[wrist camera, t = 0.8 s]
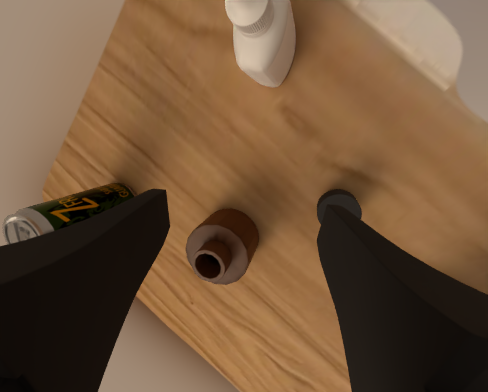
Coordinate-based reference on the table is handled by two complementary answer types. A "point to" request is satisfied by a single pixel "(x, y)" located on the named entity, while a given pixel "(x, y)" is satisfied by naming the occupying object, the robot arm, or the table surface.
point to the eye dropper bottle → (263, 38)
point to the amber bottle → (222, 246)
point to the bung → (338, 202)
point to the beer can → (63, 211)
